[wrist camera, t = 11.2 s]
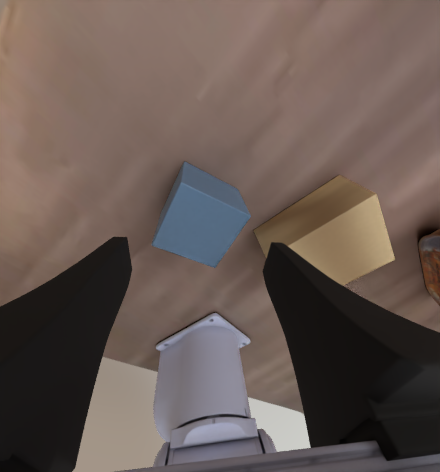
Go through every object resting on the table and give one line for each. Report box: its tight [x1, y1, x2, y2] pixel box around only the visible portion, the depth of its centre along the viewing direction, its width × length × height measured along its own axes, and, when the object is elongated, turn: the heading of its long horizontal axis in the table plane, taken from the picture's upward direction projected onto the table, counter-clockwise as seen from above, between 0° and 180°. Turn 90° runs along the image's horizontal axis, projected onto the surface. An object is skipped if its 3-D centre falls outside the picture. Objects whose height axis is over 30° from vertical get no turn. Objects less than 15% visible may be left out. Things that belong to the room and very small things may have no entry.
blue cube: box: [152, 161, 251, 268], centre depth 14 cm, size 4×4×4 cm
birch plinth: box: [253, 175, 395, 286], centre depth 17 cm, size 8×7×4 cm
